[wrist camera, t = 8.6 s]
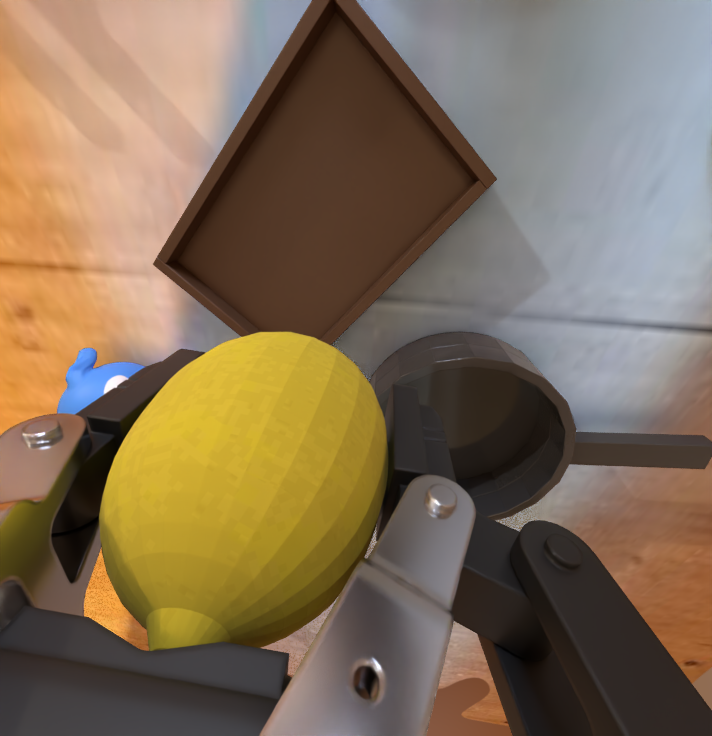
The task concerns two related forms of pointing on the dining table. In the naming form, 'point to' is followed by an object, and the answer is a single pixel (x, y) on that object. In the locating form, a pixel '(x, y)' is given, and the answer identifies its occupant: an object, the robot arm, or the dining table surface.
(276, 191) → the tray
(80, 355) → the blue mole toy
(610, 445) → the pan handle
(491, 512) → the pan
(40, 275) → the dining table surface
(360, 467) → the lemon
